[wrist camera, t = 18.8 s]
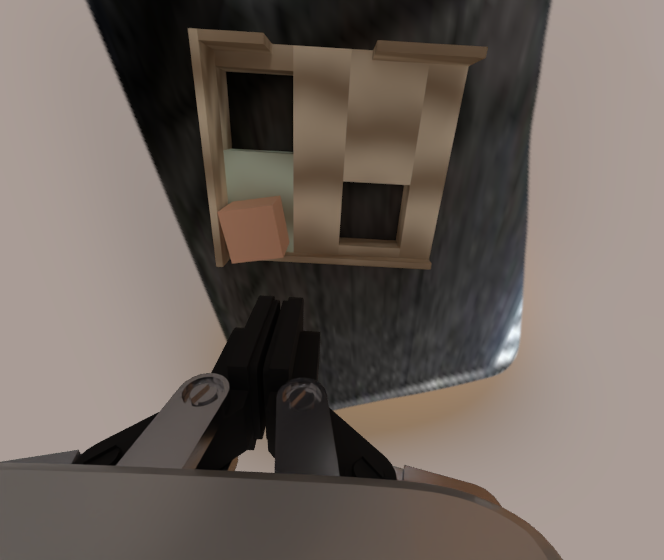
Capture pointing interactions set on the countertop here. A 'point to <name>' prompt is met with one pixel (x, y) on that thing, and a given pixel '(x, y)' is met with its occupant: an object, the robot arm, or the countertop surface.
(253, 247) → the block
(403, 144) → the wooden cubby shelf
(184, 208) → the countertop surface
